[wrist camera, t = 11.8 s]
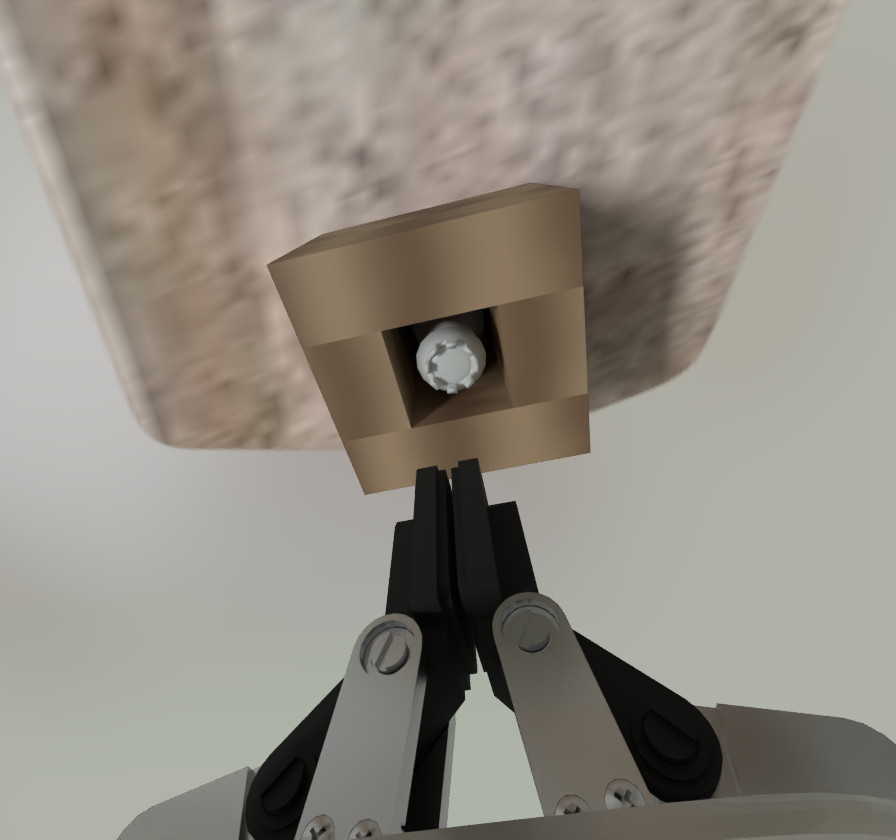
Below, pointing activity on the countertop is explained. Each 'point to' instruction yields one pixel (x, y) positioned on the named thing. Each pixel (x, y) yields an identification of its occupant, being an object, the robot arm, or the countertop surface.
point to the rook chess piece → (451, 350)
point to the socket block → (440, 295)
